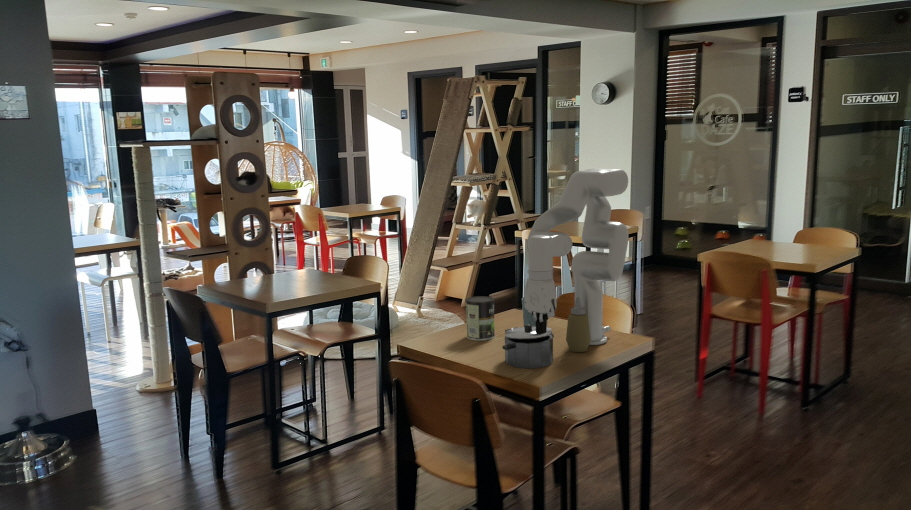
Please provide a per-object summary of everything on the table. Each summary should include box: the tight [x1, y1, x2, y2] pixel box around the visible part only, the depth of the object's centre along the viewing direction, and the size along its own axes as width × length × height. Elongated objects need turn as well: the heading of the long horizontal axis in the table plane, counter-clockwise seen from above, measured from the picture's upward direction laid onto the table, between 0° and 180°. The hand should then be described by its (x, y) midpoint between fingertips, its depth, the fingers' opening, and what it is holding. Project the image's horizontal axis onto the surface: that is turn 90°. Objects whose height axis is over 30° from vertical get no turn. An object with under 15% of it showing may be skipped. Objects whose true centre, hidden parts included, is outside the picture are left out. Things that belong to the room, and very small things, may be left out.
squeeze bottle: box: [565, 297, 590, 353], centre depth 235 cm, size 8×8×18 cm
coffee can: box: [465, 295, 496, 342], centre depth 255 cm, size 10×10×14 cm
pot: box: [501, 333, 555, 370], centre depth 226 cm, size 21×15×8 cm
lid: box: [504, 324, 553, 339], centre depth 226 cm, size 15×16×3 cm
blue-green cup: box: [521, 296, 548, 327], centre depth 262 cm, size 10×10×12 cm
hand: (541, 332), depth 221 cm, fingers closed
